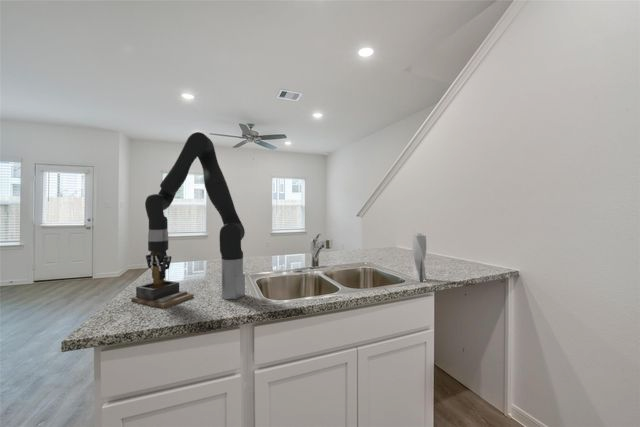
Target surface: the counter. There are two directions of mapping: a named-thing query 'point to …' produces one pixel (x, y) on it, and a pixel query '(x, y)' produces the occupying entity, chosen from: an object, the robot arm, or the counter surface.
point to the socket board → (161, 295)
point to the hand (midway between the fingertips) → (158, 278)
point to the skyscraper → (419, 256)
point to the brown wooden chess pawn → (157, 277)
